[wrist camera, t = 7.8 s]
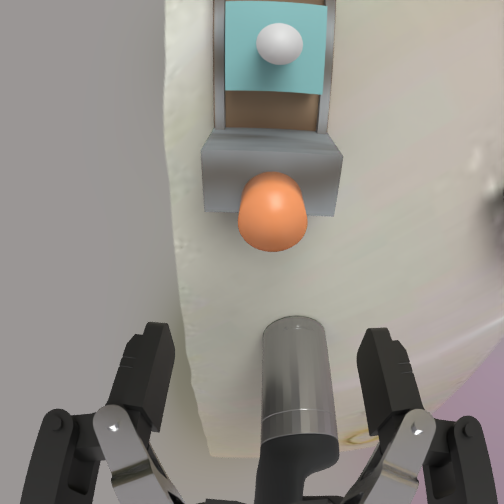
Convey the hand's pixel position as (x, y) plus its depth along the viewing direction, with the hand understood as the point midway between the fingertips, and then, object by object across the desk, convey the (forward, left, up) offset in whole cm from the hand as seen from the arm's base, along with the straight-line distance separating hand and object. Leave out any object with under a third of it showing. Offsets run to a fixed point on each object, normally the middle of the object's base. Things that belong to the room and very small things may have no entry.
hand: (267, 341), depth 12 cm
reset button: (0, 0, -11) cm, 11 cm away
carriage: (+10, 0, -20) cm, 22 cm away
